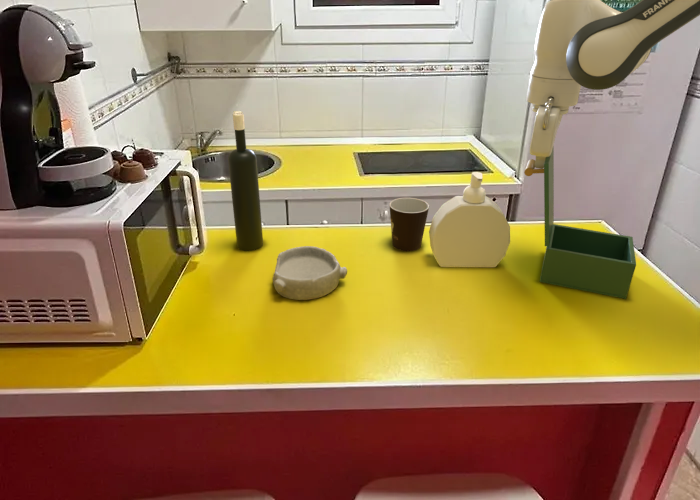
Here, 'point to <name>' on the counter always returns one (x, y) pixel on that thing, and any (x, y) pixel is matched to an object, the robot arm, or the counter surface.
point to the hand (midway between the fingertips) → (539, 166)
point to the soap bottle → (469, 230)
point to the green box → (589, 261)
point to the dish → (307, 273)
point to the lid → (546, 191)
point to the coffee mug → (408, 222)
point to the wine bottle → (245, 190)
